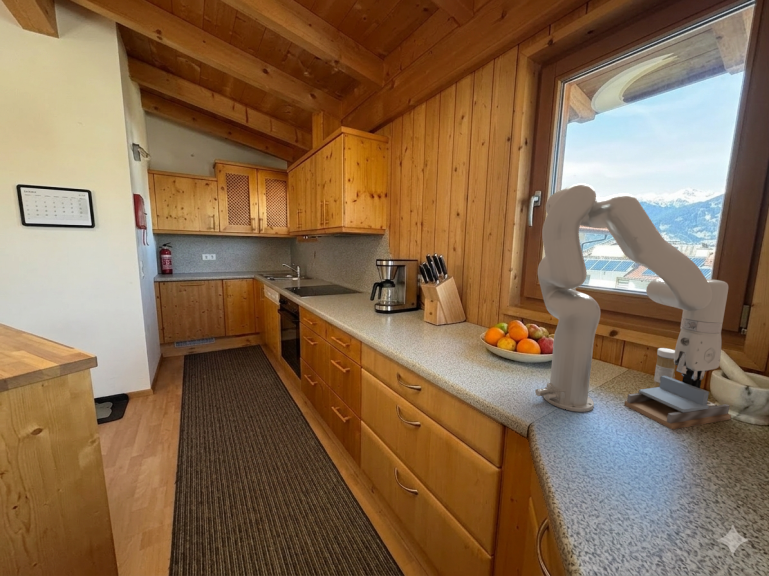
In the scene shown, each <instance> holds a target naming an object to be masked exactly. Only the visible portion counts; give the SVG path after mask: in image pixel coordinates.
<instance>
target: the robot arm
mask: <svg viewBox="0 0 769 576" xmlns="http://www.w3.org/2000/svg"><path fill="white" fill-rule="evenodd" d="M545 211H546V216H545V219H544V222H543V224H542V231H541V233H542V234H541V235H542V243H543V250H544V255H545V256H544V257H543V258H542V259H541V261H539V264H538V267H537V278H538V282H539V286H540V291H541V294H542V295H541V296H542V299H543V302H544V306H545V308H546V310H547V311H548V313H549V314H550V316H553V318H556V319H557V320H558V322H557V326H556V327H555V332H554V335H553V344H552V358H551V369H550V379H549V380H550V381H549V382H547V383H546V386H545V387H544V388H537V389H535V391H534V392H535V395H536V396H537V397H543V399H544V400H546V402H547V403H549V404H551V405H553V406H555V407H557V408H559V409H563V410H565V409H566V411H570V412H576V413H577V412H579V413H581V412H582V413H585V412H589V411H591V410H593V409H594V408H595V407H594V406H595V402H594V400H593V399H592V398H591V397H589V389H590V380H591V371H592V362H593V361H592V359H593V354H594V353H593V351H594V343H595V336H596V332H597V329H598V326H599V323H600V320H601V308H600V305H599V303H598V302H597V300H595V299H594V297H592V296H591V295H589V294H587V293H584V292H581V291H578V290H577V289H576V288H579V287H581V286H582V285H583V284H584V283H585V281H586V280H587V275H588V273H587V268H586V267H587V266H586V263H585V259H584V255H583V249H582V246H581V242H580V228H581V227H587V228H588V227H589V228H594V229H607V230H608V232H609V233H610V235H611V236H612V237H613V239H614V240H615V242H616V243H617V245H618V247H619V249H620V250H621V252H623V255H624V256H625V257H627V258H628V259H630V260H631V262H632V261H633V262H634V263H636V264H638V265H640V266H642V267H644V268H646V269H648V270H650V271H651V272H653V273H654V274H655V275H656V276H658V278H655V279H653V280H651V281H650V282H649V283H648V284H647V286H646V289H645V290H646V291H645V292H646V295H647V297H648V298H649V299H650V300H652V301H653V302H655V303H657V304H661V305H663V306H668V307H673V308H676V309H680V310H682V315H681V321H680V332H679V335H678V337H677V340H676V344H675V349H674V350H675V353H674V364H675V365H676V366H677V367H676V368H675V372H678V373H681V376H682V380H681V382H684V383H686V384H689V385H692V386H694V387H697V388H700V389H701V385H702V380H703V379H704V376H705V373H706V372H708V371H710V370H711V371H712V370H716V369H718V368H719V367H720V363H721V355H722V328H723V322H724V318H725V317H724V316H725V310H726V305H727V299H728V292H729V284H728V282H726V281H724V280H719V279H707V278H706V276H705V274H704V273H703V272H702V270H701V268H699V266H698V265H697V264H696V263H695V262H694V261H693V260H692V259H691V258H690V257H688V256H687V255H686V254H684V253H683V252H681V251H680V250H679V249H678V248H676V247H675V246H674V245H672V244H671V243H669V242H668V241H666V240H665V239H664V237H663V236H662V234H661V233H660V232H659V231H658V228H657V227H656V226H655V225H654V223H653V221H652V219H651V218H650V217H649V215H648V213H647V212H646V211H645V208H644V207H643V206H642V204H641V203H640V201H639V200H638V199H637V197H635V196H634V195H632V194H630V193H618V194H613V195H608V196H606V197H597V194H596V191H595V188H594V187H593V186H592V185H589V184H588V183H587V184H586V183H577V184H573V185H570V186H567V187H565V188H563V189H560V190H557V191H556V192H554V193H553V194H551V195H550V196H549V197H548V199H547V200H546V203H545ZM580 226H581V227H580Z"/></svg>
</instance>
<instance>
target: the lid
mask: <svg viewBox="0 0 769 576" xmlns="http://www.w3.org/2000/svg"><path fill="white" fill-rule="evenodd" d="M638 393H641V394H643V395H646V396H648V397H650V398H652V399H654V400H657V401H659V402H661V403H663V404H665V405H668V406H670V407H672V408H674V409H677V410H679V411H681V412H683V413H684V412H690V411H696V410H702V409H708V407H709V406H708V405H707V401H709V400H708V399H709V395H710V394H709V393H710V392H709V391H707V390H705V389H702V388H701V387H700V388H697V387H694V386H692V385H689V384H686V383H684V382H682V380H681V381H680V380H678V379H676V378H674V379H673V378H670V377H668V376H661V381H660V387H656V388H653V387H650V388H643V389H638Z"/></svg>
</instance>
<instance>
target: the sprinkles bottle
mask: <svg viewBox="0 0 769 576" xmlns="http://www.w3.org/2000/svg"><path fill="white" fill-rule="evenodd" d="M674 353H675V349H671V348H666V347H659V348H657V353H656V355H657V359H656V365H655V371H654V378H653V380H654V381H653V386H652V388H656V387H660V381H661V376H668V377H670V378H673V379H675V377H676V375H675V372H676V366H677V365H675V364H674Z"/></svg>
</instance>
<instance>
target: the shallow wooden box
mask: <svg viewBox="0 0 769 576" xmlns="http://www.w3.org/2000/svg"><path fill="white" fill-rule="evenodd" d="M707 405H708V406H709V407H708V409H702V410H696V411H690V412H684V413H683V412H681V411H679V410H677V409H674V408H672V407H670V406H668V405H665V404H663V403H661V402H659V401H657V400H654V399H652V398H650V397H648V396H646V395H643V394H641V393H639V392H637V393H629V394H627V399H626V400H625V401H624V406H625V407H627V408H630V409H632V410H634V411H636V412H638V413H640V414H642V415H643V416H645V417H647V418H649V419H651V420H652V421H655V422H657V423H659V424H661V425H663V426H665V427H667V428H668V429H670V430H678V429H682V428H683V429H684V428H688V427H689V428H690V427H694V426H695V427H696V426H700V425H701V426H702V425H705V424H711V423H717V422H722V421H727V420H731V419H732V418H731V417H732V414H730V413H729V410H730V405H729V404H716V403H715V402H711V401H709V400H708V401H707Z"/></svg>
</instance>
